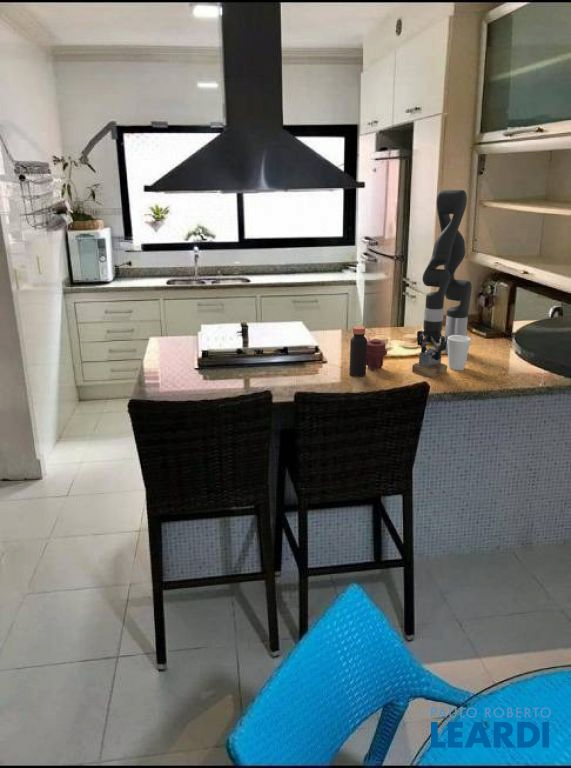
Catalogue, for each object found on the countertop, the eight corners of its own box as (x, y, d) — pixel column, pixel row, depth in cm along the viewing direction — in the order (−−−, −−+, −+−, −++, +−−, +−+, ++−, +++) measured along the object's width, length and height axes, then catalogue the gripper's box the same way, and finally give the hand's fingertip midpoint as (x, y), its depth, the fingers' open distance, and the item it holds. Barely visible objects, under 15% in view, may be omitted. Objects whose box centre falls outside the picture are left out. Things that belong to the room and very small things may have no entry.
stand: (427, 366, 256) (428, 358, 255) (446, 372, 249) (447, 364, 248) (412, 371, 251) (412, 363, 249) (431, 377, 243) (431, 369, 242)
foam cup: (441, 368, 254) (443, 338, 250) (451, 362, 261) (454, 334, 256) (461, 372, 248) (464, 342, 244) (472, 367, 255) (475, 337, 250)
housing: (431, 360, 253) (432, 347, 251) (440, 363, 249) (441, 349, 247) (418, 364, 248) (419, 350, 246) (428, 367, 244) (429, 353, 242)
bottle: (346, 373, 250) (347, 326, 243) (360, 371, 252) (362, 324, 245) (354, 378, 244) (356, 330, 237) (369, 375, 246) (370, 328, 239)
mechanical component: (386, 365, 259) (385, 372, 249) (363, 364, 261) (361, 371, 251) (388, 337, 254) (387, 344, 245) (364, 336, 256) (362, 343, 247)
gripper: (453, 320, 239) (450, 360, 245) (425, 313, 249) (422, 352, 255) (442, 323, 235) (438, 364, 240) (413, 316, 245) (410, 355, 251)
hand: (430, 357), depth 248 cm, fingers open, 6 cm apart
